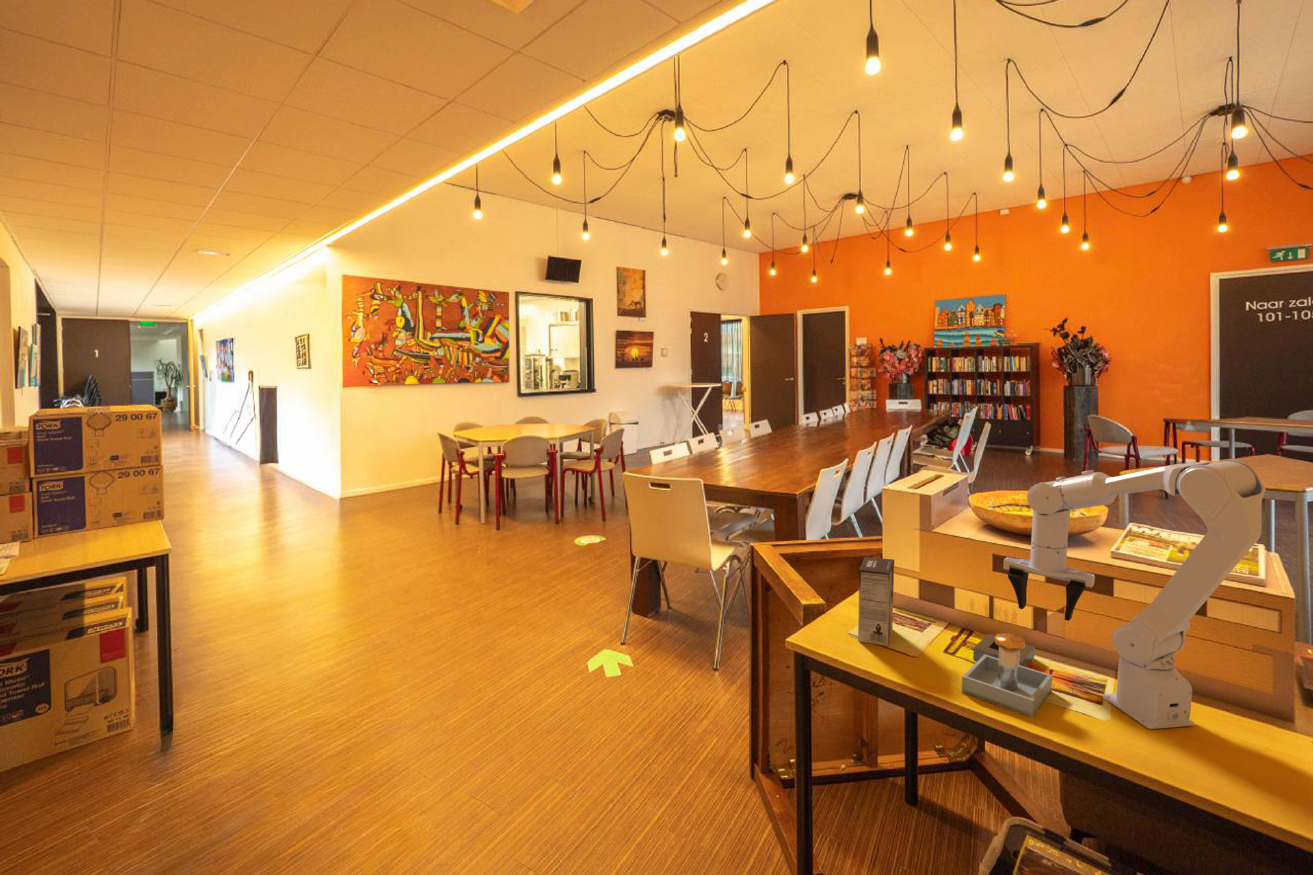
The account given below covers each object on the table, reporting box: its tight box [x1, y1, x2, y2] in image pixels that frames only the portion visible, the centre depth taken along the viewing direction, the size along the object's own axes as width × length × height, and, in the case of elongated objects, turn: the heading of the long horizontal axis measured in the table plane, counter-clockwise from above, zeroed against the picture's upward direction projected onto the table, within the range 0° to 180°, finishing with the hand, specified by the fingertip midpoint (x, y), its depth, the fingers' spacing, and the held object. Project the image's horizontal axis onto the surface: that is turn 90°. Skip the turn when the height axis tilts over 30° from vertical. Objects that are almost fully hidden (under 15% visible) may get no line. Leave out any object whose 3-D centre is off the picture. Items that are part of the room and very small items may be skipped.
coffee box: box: [857, 556, 895, 647], centre depth 131 cm, size 9×6×16 cm
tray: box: [961, 654, 1053, 719], centre depth 109 cm, size 11×11×3 cm
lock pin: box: [995, 632, 1026, 691], centre depth 109 cm, size 5×5×9 cm
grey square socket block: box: [972, 633, 1036, 668], centre depth 120 cm, size 8×8×2 cm
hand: (1044, 612), depth 117 cm, fingers open, 7 cm apart
